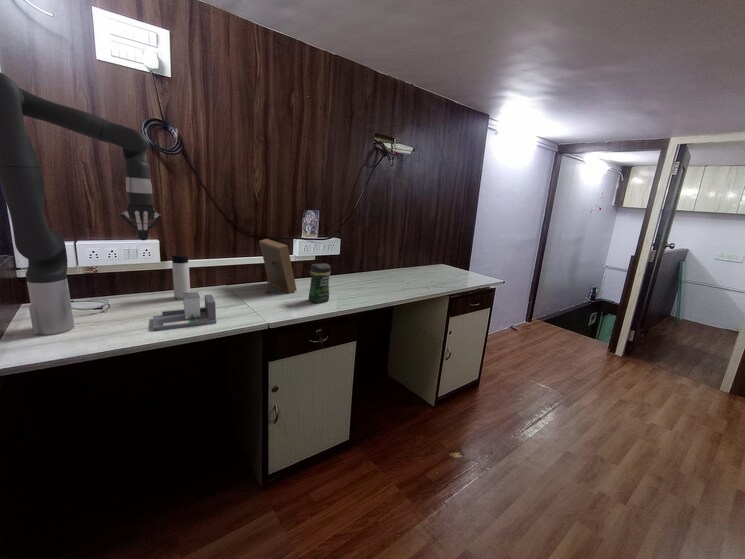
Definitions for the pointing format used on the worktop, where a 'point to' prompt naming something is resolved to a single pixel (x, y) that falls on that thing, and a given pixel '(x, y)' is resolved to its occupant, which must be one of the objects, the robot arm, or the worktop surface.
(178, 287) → the travel mug
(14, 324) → the worktop surface
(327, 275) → the coffee jar
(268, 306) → the worktop surface
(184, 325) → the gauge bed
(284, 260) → the photo frame
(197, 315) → the carriage
